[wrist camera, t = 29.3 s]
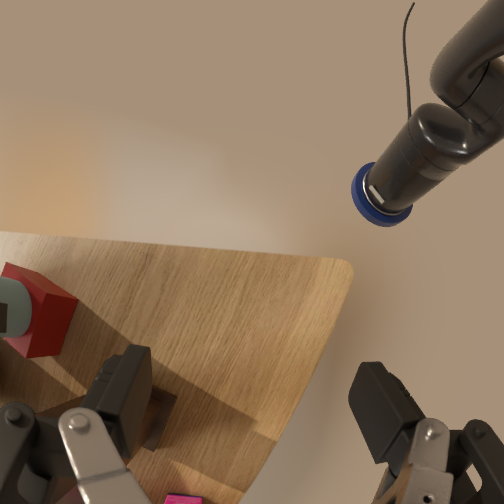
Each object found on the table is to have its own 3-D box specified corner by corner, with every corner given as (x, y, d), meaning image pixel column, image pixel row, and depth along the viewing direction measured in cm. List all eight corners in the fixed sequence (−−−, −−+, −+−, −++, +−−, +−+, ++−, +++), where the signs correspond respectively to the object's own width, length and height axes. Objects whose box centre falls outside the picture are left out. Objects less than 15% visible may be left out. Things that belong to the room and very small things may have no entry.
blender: (38, 272, 40) (-61, 235, 18) (78, 299, 40) (-30, 273, 17) (21, 324, 38) (-80, 313, 15) (59, 354, 37) (-49, 363, 15)
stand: (116, 365, 38) (-65, 408, 7) (177, 396, 37) (55, 528, 6) (98, 418, 35) (-52, 498, 4) (155, 449, 35) (52, 588, 4)
